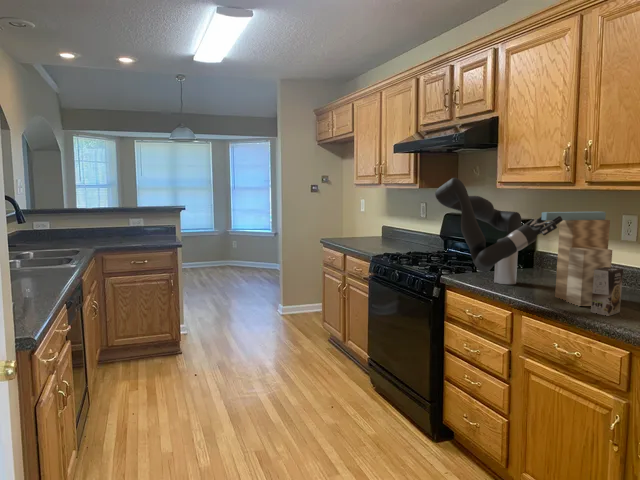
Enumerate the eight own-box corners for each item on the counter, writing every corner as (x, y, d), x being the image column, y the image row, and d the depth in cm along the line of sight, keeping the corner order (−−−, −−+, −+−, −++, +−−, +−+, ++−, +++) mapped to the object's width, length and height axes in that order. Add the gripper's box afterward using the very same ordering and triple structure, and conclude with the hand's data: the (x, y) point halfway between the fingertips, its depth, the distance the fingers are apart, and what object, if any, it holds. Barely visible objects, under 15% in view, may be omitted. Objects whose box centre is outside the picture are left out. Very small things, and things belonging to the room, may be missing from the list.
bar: (546, 220, 189) (546, 212, 189) (541, 219, 192) (541, 212, 192) (605, 219, 194) (605, 212, 193) (599, 219, 197) (600, 211, 196)
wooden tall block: (568, 301, 192) (573, 220, 188) (555, 296, 200) (560, 219, 196) (604, 300, 195) (610, 220, 191) (589, 295, 203) (595, 218, 199)
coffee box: (609, 316, 172) (612, 271, 170) (590, 312, 177) (593, 268, 175) (620, 312, 177) (624, 268, 175) (602, 308, 182) (605, 266, 180)
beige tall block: (580, 307, 184) (584, 250, 182) (566, 301, 192) (569, 247, 190) (608, 305, 186) (612, 249, 184) (593, 300, 194) (596, 247, 192)
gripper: (527, 232, 182) (562, 210, 183) (506, 228, 196) (538, 207, 197) (535, 249, 183) (570, 227, 185) (513, 244, 197) (546, 223, 199)
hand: (553, 217), depth 191 cm, fingers open, 8 cm apart
